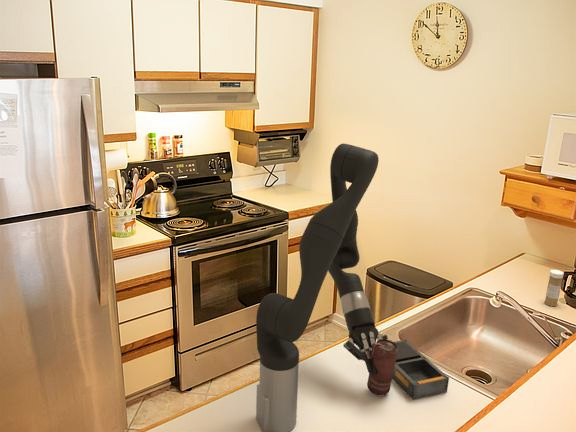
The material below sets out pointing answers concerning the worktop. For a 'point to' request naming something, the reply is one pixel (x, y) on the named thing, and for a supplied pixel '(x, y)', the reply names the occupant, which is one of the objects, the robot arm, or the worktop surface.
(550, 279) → the sprinkles bottle
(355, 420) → the worktop surface
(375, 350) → the can
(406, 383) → the dark grey open box
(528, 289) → the worktop surface
